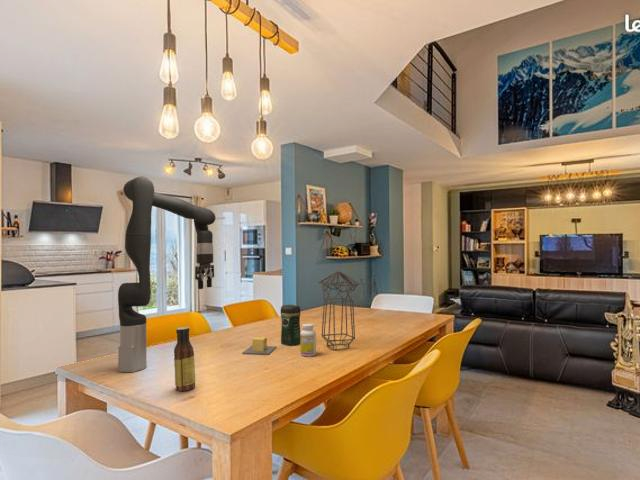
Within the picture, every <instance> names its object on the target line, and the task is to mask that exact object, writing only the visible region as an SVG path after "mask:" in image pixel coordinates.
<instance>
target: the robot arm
mask: <svg viewBox="0 0 640 480" xmlns="http://www.w3.org/2000/svg"><path fill="white" fill-rule="evenodd" d="M122 190H123V194H124V196H125V198H127V199H128V200H129V201H131V202H132V209H131V210H132V211H131V215H130V217H129V220H128V223H127V226H126V229H125V236H124V237H125V238H124V250H125V253H126V254H127V257H129V259H130V260H131V262H132V263H133V265H134V267H135V269H136V271H137V274H138V282H124V283H121V284H120V286H119V287H118V291H117V301H118V302H117V304H118V319H119V346H118V348H117V349H118V352H117V353H118V354H117V355H118V356H117V357H118V359H117V360H118V363H117V364H118V370H117V371H118V372H119V373H135V372H138V371H142V370H144V369H146V368H147V365H148V364H147V362H148V361H147V358H148V357H147V315H145V314H143V313H140V312H137V311H136V310H134V309H133V307H147V306H148V305H149V303H150V301H151V296H152V295H151V294H152V290H151V289H152V285H151V283H152V282H151V269H150V268H151V249H152V212H153V207H155V208H159V209H162V210H164V211H168V212H170V213H172V214H175V215H177V216H179V217H181V218H185V219H189V220H193V224H194V228H195V232H196V252H195V253H196V257H195V258H196V259H195V260H196V261H195V262H196V264H199V265H195V268H194V269H195V270H194V279H195V280H196V281H197V288H198V290H203V289H204V278H206V288H211V287H213V278H215V265H214V264H213V263H214V243H213V241H214V240H213V237H214V235H213V232H212V231H211V230H209V226H211V225H213V224H214V223H215V221H216V214H215V212H213V211H212V210H211V209H208V208H206V207H203V206H200V205H199V206H198V205H195V204H193V203H191V202H190V201H189V202H188V201H187V200H184V199H182V198H178V197H175V196H171V195H166V194H162V193H159V192H157V191H155V185H154V183H153V181H152V180H151V179H150V178H149V177H147V176H144V175H143V176H138V177H137V176H136V177H134V178H132V179H130V180H129V181H126V182H125V184H124V186H123V188H122Z"/></svg>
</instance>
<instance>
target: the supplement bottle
mask: <svg viewBox="0 0 640 480" xmlns="http://www.w3.org/2000/svg"><path fill="white" fill-rule="evenodd" d="M301 328H302V330H300V344H299V345H300V355H301V356H302V357H308V358H309V357H314V356H316V354H317V340H316V339H317V337H316V335H317V334H316V331H315V330H314V324H313V323H304V324H302V326H301Z"/></svg>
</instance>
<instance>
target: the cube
mask: <svg viewBox="0 0 640 480" xmlns="http://www.w3.org/2000/svg"><path fill="white" fill-rule="evenodd" d="M252 346H253V351H264V350H265V349H266V348H267V346H268V337H267V336H255V337H254V338H253V339H252Z"/></svg>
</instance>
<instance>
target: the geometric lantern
mask: <svg viewBox="0 0 640 480" xmlns="http://www.w3.org/2000/svg"><path fill="white" fill-rule="evenodd" d="M340 279H341V280H340ZM317 283H318V284H319V285H320V288H321V289H322V291H323V292H325V293H326V296H327V297H326V298H325V294H323V310H322V311H323V312H322V326H321V337H322V338H323V339H324V341H325V342H326V347H327V348H328V349H330V350H332V351H340V350H348V349H350V344H351V343H352V342H353V341H354V340H355V339H356V330H355V328H356V327H355V310H354V306H355V305H354V299H353V298H352V297H353V292H355V289H356V288H357V287H358V286H359V285H360V283H359V282H357V281H356V280H355V279H354V278H351V277H350V276H348V275H347V274H346V273H344V272H342V271H339V270H336V271H334V272H333V273H332V274H330V275H328V276H327V277H325V278H323V279H321V280H320V281H319V282H317ZM332 286H333V288H332ZM342 287H345V288H346V289H345V290H342ZM339 288H340V289H339ZM328 289H329V291H327V290H328ZM331 290H334V291H336V292H337V294H336V295H335V297H333V298H332V299H331V297H330V296H329V295H330V294H331V293H330V292H331ZM340 293H346V294H347V295H346V297H345V298H343V296H342V295H341V294H340ZM338 295H339V296H340V298H339V297H337V296H338ZM338 300H339V301H338ZM328 302H329V312H328V313H329V314H328V315H329V317H328V319H329V320H328V332H327V333H328V334H326V324H327V323H326V322H327V309H328ZM347 302H348V303H349V308H350V325H351V335H350V334H348V313H347V312H348V311H347V310H348V309H347ZM332 303H333V304H332ZM335 303H341V318H340V319H341V322H340V324H341V325H340V327H341V328H340V332H339V333H336V326H335V325H336V323H335V318H336V317H335V311H336V310H335ZM344 305H345V306H344ZM332 307H333V309H332ZM344 307H345V308H344ZM344 309H345V326H346V327H345V330H346V332H345V333H343V315H344V313H343V312H344ZM332 310H333V312H332ZM331 312H332V313H331ZM331 314H333V320H332V321H333V333H331V332H330V331H331ZM339 335H340V338H339V339H336V336H339ZM342 335H343V336H344V337H343V339H342ZM326 336H328V338H327V337H326ZM330 336H333V339H330ZM347 336H348V337H350V338H349V339H348V338H347V339H346V337H347ZM348 341H350V342H348ZM333 342H334V343H333ZM336 342H341V343H336ZM329 344H330V345H329ZM337 346H344V347H345V348H335V347H337ZM332 347H333V348H332Z"/></svg>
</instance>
